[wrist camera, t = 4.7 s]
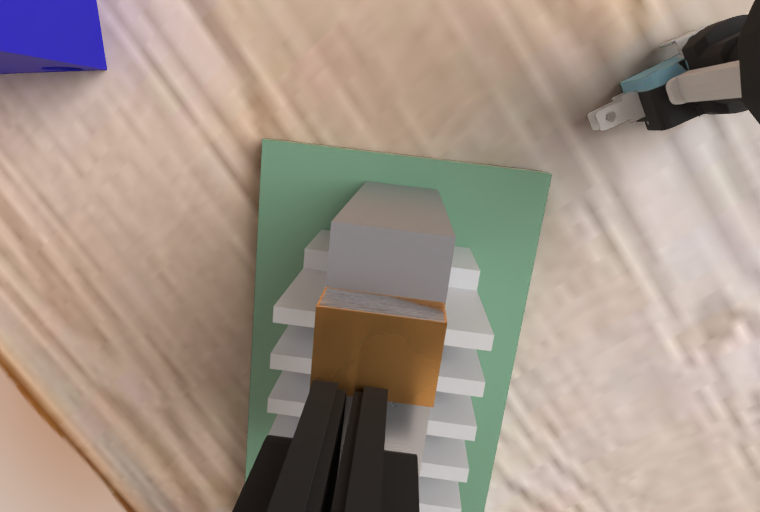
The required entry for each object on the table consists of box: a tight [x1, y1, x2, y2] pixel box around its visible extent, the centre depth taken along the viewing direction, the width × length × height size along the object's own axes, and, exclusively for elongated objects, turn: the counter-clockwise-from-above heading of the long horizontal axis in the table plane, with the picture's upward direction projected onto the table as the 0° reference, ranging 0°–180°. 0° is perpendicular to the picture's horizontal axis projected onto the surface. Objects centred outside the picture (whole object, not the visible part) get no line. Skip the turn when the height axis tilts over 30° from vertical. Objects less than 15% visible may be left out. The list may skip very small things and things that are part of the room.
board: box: [245, 139, 552, 512], centre depth 18 cm, size 12×20×12 cm, turn 173°
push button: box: [587, 0, 760, 131], centre depth 15 cm, size 7×5×10 cm
